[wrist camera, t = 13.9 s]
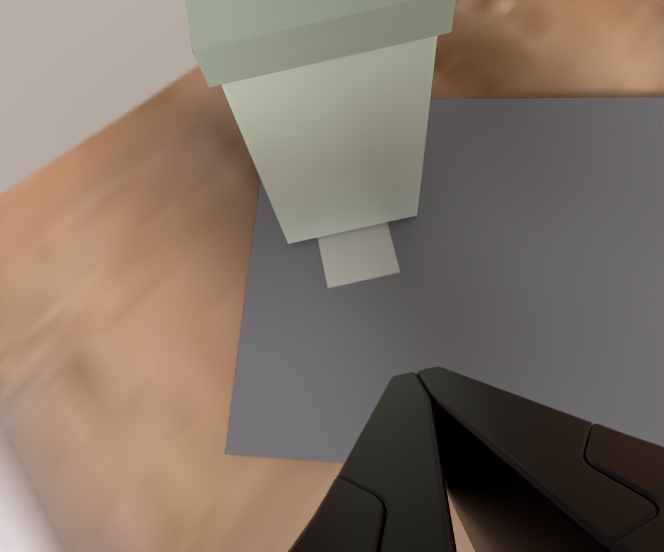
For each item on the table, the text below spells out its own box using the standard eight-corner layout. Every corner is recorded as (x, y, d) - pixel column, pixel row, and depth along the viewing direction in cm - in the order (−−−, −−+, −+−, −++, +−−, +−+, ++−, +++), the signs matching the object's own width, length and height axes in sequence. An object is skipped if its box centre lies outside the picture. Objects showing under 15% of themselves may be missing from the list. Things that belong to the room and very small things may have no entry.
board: (908, 110, 23) (932, 93, 22) (1056, 511, 18) (1097, 514, 17) (274, 113, 26) (270, 98, 25) (232, 455, 21) (224, 453, 20)
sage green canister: (424, 219, 22) (457, -10, 12) (283, 250, 22) (192, 50, 12) (390, 104, 24) (393, -175, 14) (262, 133, 25) (169, -123, 14)
